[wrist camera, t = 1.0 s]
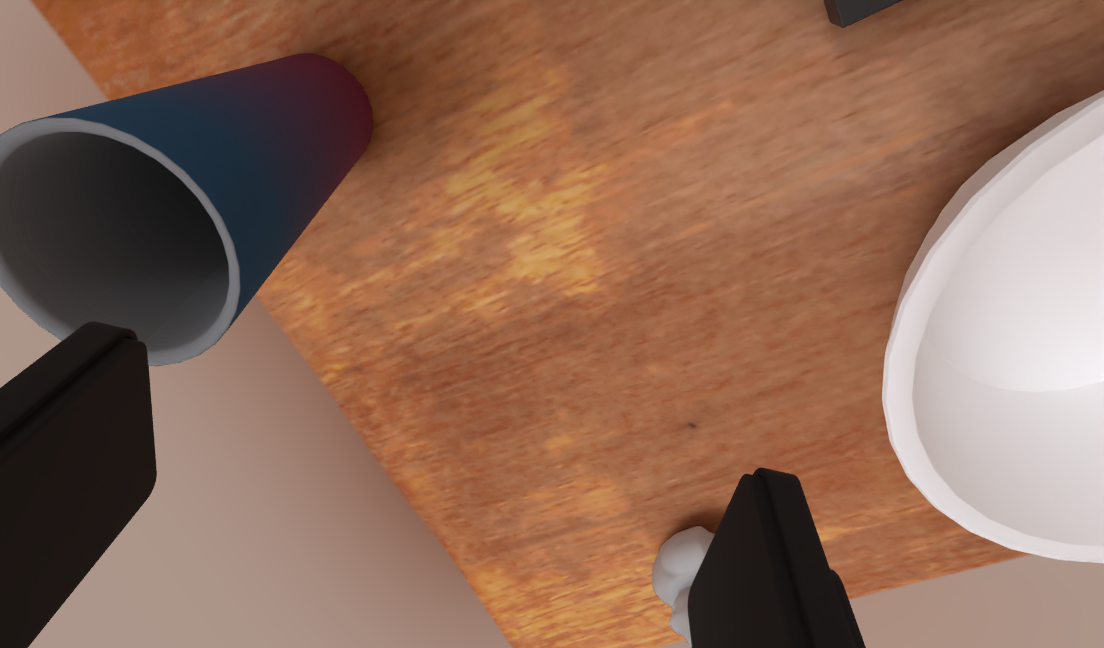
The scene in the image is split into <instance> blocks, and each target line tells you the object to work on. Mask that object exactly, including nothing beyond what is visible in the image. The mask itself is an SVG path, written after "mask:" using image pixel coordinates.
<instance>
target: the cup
mask: <svg viewBox="0 0 1104 648" xmlns="http://www.w3.org/2000/svg"><path fill="white" fill-rule="evenodd" d="M372 123H373V119H372V112H371V107H370V104H369V101H368V98H367V96H366V94H365V92H364V90H363V88H362V87H361V85H360V84H359V83H358V81H357V80H356V79H355V78H354V76H353V75H352V74H350V73H349V72H348V71H347V70H346V69H345V68H344V67H342V66H341V65H339V64H337V63H336V62H334V61H332V60H330V59H327V58H325V57H322V56H318V55H313V54H298V55H293V56H289V57H285V58H281V59H277V60H273V61H269V62H265V63H261V64H257V65H253V66H249V67H245V68H241V69H237V70H233V71H229V72H225V73H221V74H217V75H213V76H209V77H205V78H201V79H197V80H193V81H189V82H185V83H180V84H176V85H172V86H168V87H164V88H160V89H156V90H152V91H148V92H144V93H140V94H136V95H132V96H128V97H124V98H120V99H116V100H112V101H108V102H104V103H100V104H96V105H93V106H88V107H84V108H80V109H76V110H72V111H68V112H64V113H60V114H56V115H52V116H48V117H44V118H40V119H36V120H32V121H28V122H24V123H21V124H19V125H17V126H15V127H13V128H11V129H9V130H8V131H6V132H4V133H2V134H0V287H1V288H2V289H3V290H4V291H5V292H6V293H7V295H8V296H9V297H10V298H11V299H12V300H13V302H14V303H15V304H16V305H17V306H18V307H19V308H20V309H21V310H22V311H23V312H24V313H26V314H27V315H28V316H29V317H30V318H31V319H32V320H34V321H35V322H36V323H37V324H38V325H39V326H41V327H42V328H44V329H45V330H47V331H48V332H50V333H51V334H53V335H54V336H56V337H57V338H58V339H60V340H61V341H63V340H64V339H65V338H67V337H68V336H69V335H71V334H72V333H73V332H75V331H76V330H77V329H79V328H80V327H81V326H83V325H84V324H86V323H88V322H93V321H95V322H100V323H104V324H109V325H113V326H118V327H123V328H127V329H131V330H133V331H134V332H135V334H136V335H137V338H138V341H141V342H143V343H145V345H146V347H147V353H148V366H162V365H168V364H174V363H180V362H183V361H185V360H188V359H190V358H193V357H196V356H198V355H200V354H202V353H203V352H204V351H206V350H207V349H209V348H210V347H212V346H213V345H215V344H216V343H217V341H218V340H219V339H220V338H221V337H222V336H223V334H224V333H225V332H226V331H227V330H228V328H230V326H231V325H232V324H233V322H234V321H235V319H236V318H237V317H238V316H239V314H240V313H241V312H242V311H243V309H244V308H245V307H246V305H247V304H248V303H249V301H250V300H251V299H252V297H253V296H254V295H255V294H256V292H257V291H258V290H259V288H260V287H261V286H262V284H263V283H264V282H265V280H266V279H267V278H268V277H269V275H270V274H271V273H272V271H273V270H274V269H275V267H276V266H277V265H278V264H279V262H280V261H281V260H282V258H283V257H284V256H285V254H286V253H287V252H288V250H289V249H290V248H291V247H292V245H293V244H294V243H295V241H296V240H297V239H298V237H299V236H300V235H301V233H302V232H303V231H304V230H305V228H306V227H307V226H308V224H309V223H310V222H311V220H312V219H313V218H314V217H315V215H316V214H317V213H318V211H319V210H320V209H321V207H322V206H323V205H324V203H325V202H326V201H327V200H328V198H329V197H330V196H331V194H332V193H333V192H334V190H335V189H336V188H337V186H338V185H339V184H340V183H341V181H342V180H343V179H344V177H345V176H346V175H347V173H348V172H349V171H350V169H351V168H352V167H353V166H354V164H355V163H356V162H357V160H358V159H359V158H360V156H361V155H362V154H363V153H364V151H365V149H366V147H367V145H368V143H369V141H370V137H371V134H372Z"/></svg>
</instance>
